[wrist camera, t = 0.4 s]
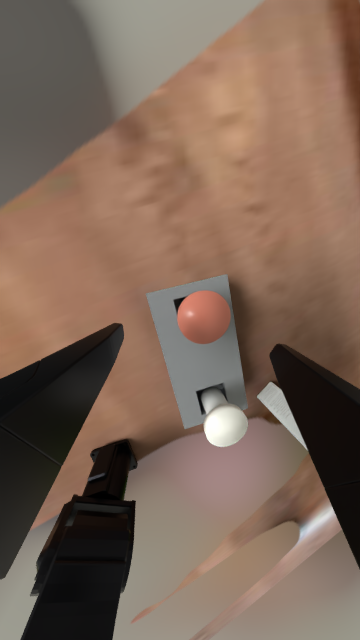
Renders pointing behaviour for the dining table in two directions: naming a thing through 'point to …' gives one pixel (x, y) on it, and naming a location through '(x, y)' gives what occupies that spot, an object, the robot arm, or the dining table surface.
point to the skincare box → (280, 409)
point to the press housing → (197, 352)
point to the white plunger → (222, 419)
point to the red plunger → (203, 317)
